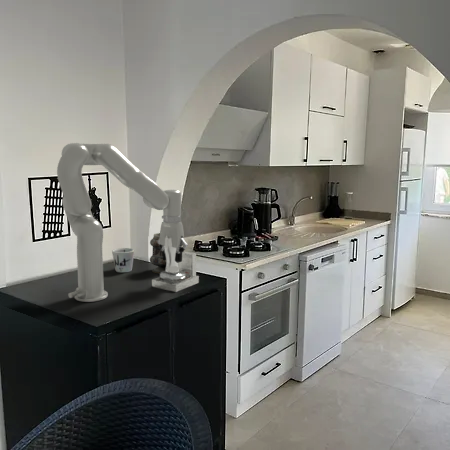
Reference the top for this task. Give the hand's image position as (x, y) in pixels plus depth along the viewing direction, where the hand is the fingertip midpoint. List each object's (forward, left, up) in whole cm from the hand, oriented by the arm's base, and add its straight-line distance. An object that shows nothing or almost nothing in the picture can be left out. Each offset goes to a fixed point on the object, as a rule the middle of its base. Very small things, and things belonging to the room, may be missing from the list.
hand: (172, 260), depth 196 cm
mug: (+8, +36, -11) cm, 39 cm away
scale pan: (+1, 0, -7) cm, 7 cm away
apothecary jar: (+16, +19, -11) cm, 27 cm away
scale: (+2, 0, -11) cm, 11 cm away
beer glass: (0, 0, -5) cm, 5 cm away
